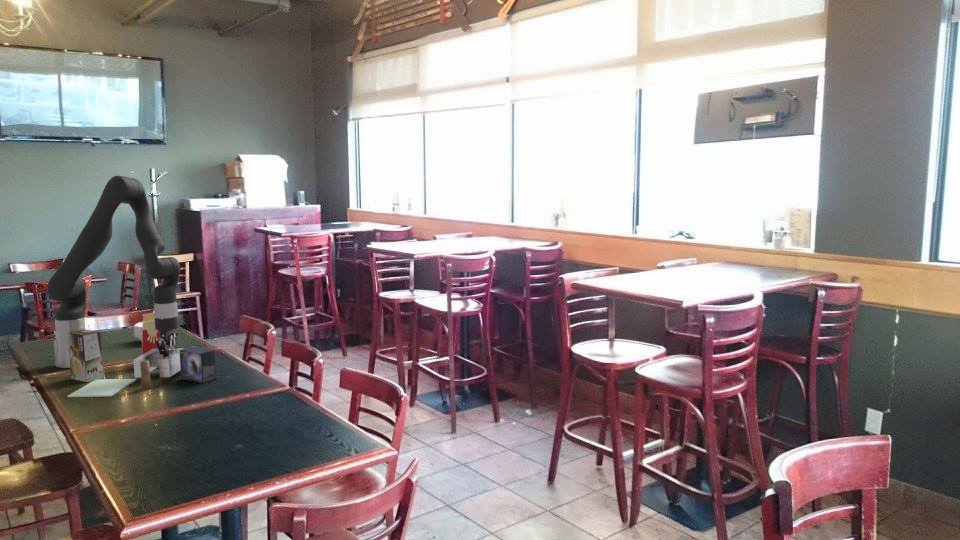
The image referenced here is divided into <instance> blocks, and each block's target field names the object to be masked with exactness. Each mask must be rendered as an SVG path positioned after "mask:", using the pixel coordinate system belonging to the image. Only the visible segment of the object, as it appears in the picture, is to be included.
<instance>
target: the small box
mask: <svg viewBox="0 0 960 540" xmlns="http://www.w3.org/2000/svg"><path fill="white" fill-rule="evenodd" d="M179 351H180V366H181V370H180V379H181V380H182V381H187V382H192V381H193V383H197V382H198V384H202V383H203V384H205V382H206V383H209V382H212V381H215V380H214V379H216V380H217V379H218V378H217V368H216V349H214V348H209V347H208V348H207V347H203V346H197V345H192V346H188V347H185V348H184V349H181V350H179ZM211 380H212V381H211ZM208 381H209V382H208Z"/></svg>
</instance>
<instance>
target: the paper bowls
mask: <svg viewBox="0 0 960 540" xmlns="http://www.w3.org/2000/svg"><path fill="white" fill-rule="evenodd" d="M142 329H143V321H139V322H137V323H135V324H134V325H133V333H134V334H133V335H134V337H135V338H136V339H137V338H138V339H139V340H140V342H141V343H142Z"/></svg>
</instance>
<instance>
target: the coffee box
mask: <svg viewBox="0 0 960 540" xmlns="http://www.w3.org/2000/svg"><path fill="white" fill-rule="evenodd" d="M67 334H68V346H69V357H70V368H69V369H70V379H71V380H74V379H75V381H79V382H84V383H85V382H86V383H91V382H93V381H95V380H96V379H105V377H104V376H105V375H104V364H103V363H104V362H103V351H102V338H101V336H102V335H101V331H96V330H90V329H86V328H85V329H84V330H78V331H73V332H69V333H67Z"/></svg>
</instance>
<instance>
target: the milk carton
mask: <svg viewBox="0 0 960 540" xmlns="http://www.w3.org/2000/svg"><path fill="white" fill-rule="evenodd" d="M141 316H143V317H142V319H143V320H142V322H143V329H142V342H141V355H143V354H144V353H146V352H148V351H150V350H151V349H158V347H157V344H156V341H159V340H160V331H159V330H156V329H155V320H154V312H149V313H143V314H141Z"/></svg>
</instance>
